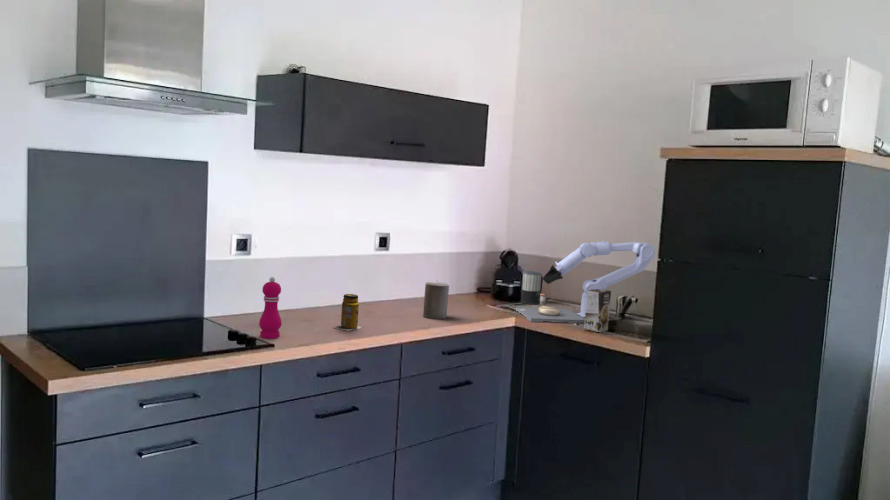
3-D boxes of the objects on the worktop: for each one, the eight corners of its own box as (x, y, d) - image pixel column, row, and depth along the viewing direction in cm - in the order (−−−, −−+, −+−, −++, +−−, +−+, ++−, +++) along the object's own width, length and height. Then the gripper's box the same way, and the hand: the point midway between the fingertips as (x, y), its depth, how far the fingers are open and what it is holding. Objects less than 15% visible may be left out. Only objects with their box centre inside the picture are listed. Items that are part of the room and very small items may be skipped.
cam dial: (562, 315, 305) (563, 300, 305) (541, 315, 304) (543, 299, 303) (551, 308, 321) (552, 293, 320) (531, 307, 319) (532, 293, 319)
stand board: (567, 312, 324) (568, 308, 324) (586, 323, 300) (587, 319, 300) (515, 310, 320) (516, 307, 320) (530, 321, 296) (531, 317, 296)
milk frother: (538, 305, 338) (540, 274, 337) (505, 301, 343) (507, 270, 341) (542, 301, 352) (545, 270, 350) (510, 297, 356) (513, 267, 355)
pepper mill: (254, 337, 238) (256, 277, 236) (267, 333, 245) (269, 274, 243) (272, 340, 236) (275, 279, 234) (285, 336, 243) (287, 277, 241)
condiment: (362, 327, 264) (364, 295, 263) (348, 331, 257) (350, 297, 256) (346, 324, 268) (347, 292, 267) (332, 328, 260) (333, 295, 259)
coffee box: (598, 333, 282) (601, 292, 280) (583, 330, 286) (586, 290, 284) (608, 330, 289) (611, 290, 288) (593, 327, 293) (596, 288, 291)
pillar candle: (423, 318, 289) (426, 281, 287) (422, 313, 298) (425, 277, 297) (447, 320, 289) (450, 283, 288) (446, 315, 299) (448, 279, 298)
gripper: (565, 257, 325) (541, 276, 326) (562, 252, 311) (537, 272, 312) (575, 270, 323) (551, 288, 324) (572, 265, 309) (547, 285, 310)
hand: (544, 281), depth 318 cm, fingers open, 7 cm apart
